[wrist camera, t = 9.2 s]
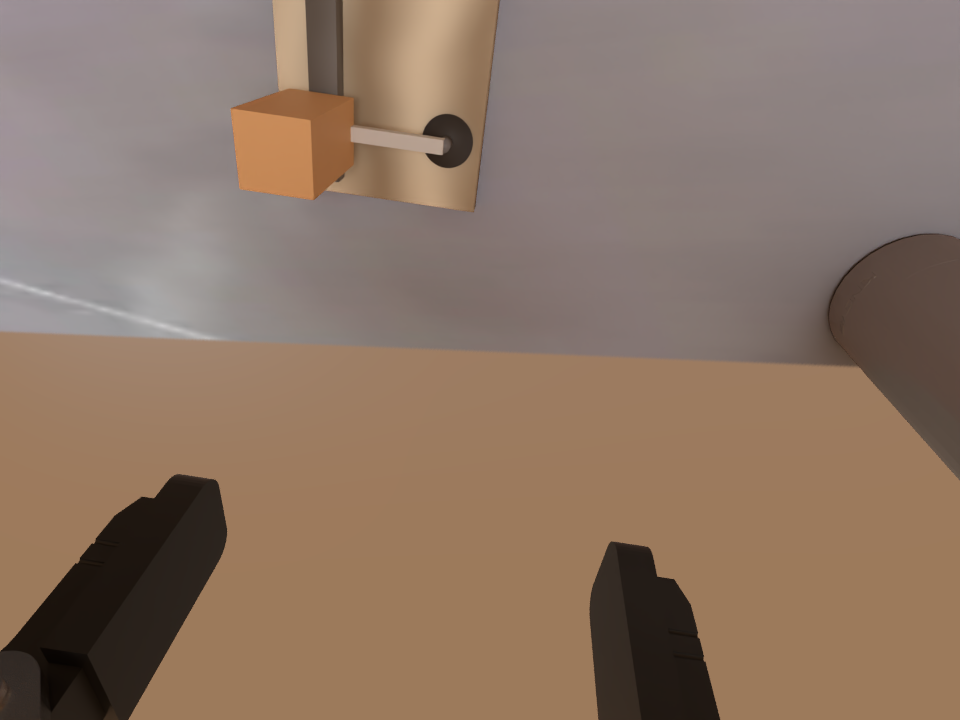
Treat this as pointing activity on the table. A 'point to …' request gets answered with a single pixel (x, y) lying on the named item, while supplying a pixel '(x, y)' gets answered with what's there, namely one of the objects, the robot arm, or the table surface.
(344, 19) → the pitch plate
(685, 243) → the table surface
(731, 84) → the table surface
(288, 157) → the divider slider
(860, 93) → the table surface
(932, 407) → the robot arm
